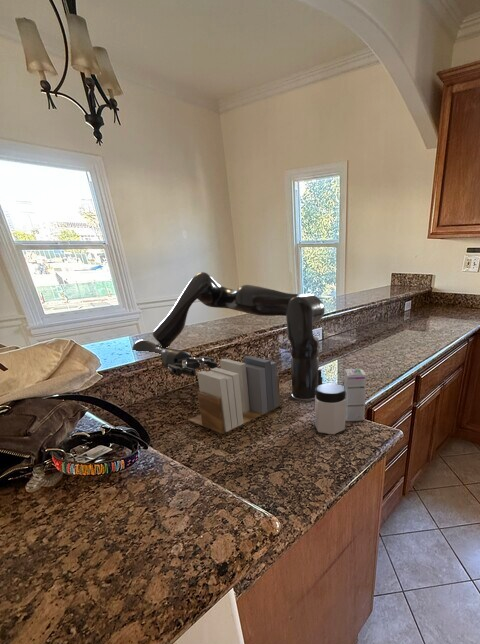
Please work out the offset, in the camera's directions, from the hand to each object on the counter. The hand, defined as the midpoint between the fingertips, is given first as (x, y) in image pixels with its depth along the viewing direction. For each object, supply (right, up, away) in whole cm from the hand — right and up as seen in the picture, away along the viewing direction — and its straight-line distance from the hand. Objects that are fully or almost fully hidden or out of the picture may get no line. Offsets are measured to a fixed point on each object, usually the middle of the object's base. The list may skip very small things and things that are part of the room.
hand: (206, 369), depth 112 cm
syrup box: (+47, -15, -5) cm, 49 cm away
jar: (+39, -18, -12) cm, 45 cm away
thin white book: (+11, -12, -2) cm, 16 cm away
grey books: (+17, -12, -1) cm, 21 cm away
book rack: (+11, -15, -5) cm, 19 cm away
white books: (+9, -17, -12) cm, 23 cm away
